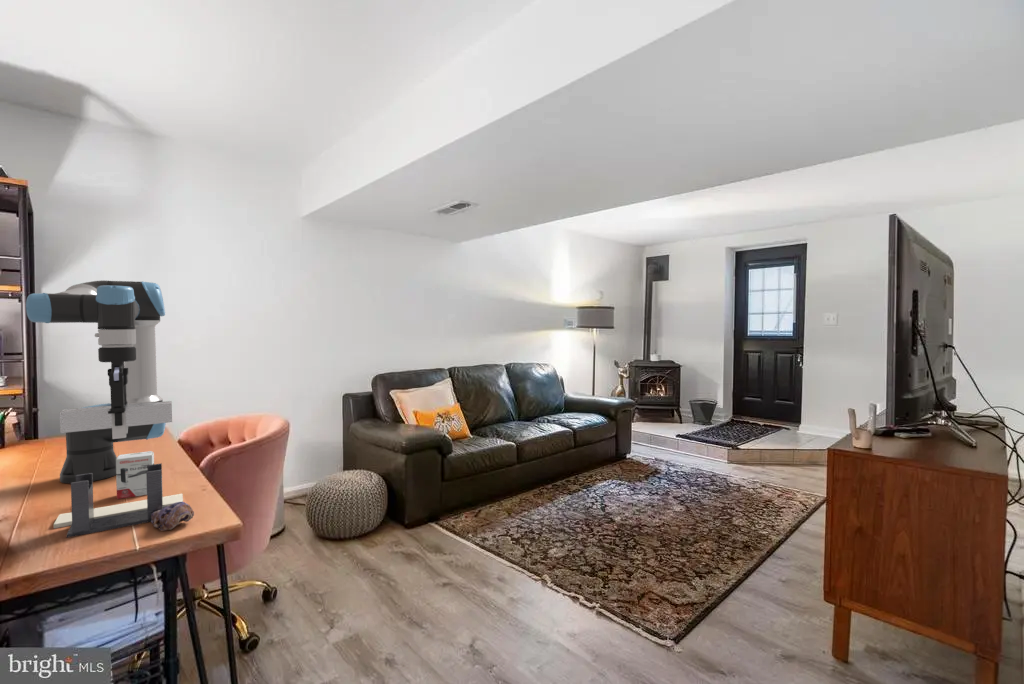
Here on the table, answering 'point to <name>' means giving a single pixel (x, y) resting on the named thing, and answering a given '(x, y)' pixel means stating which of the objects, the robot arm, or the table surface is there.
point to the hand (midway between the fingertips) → (120, 435)
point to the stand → (87, 524)
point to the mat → (117, 509)
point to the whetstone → (102, 420)
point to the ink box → (132, 474)
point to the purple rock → (172, 515)
